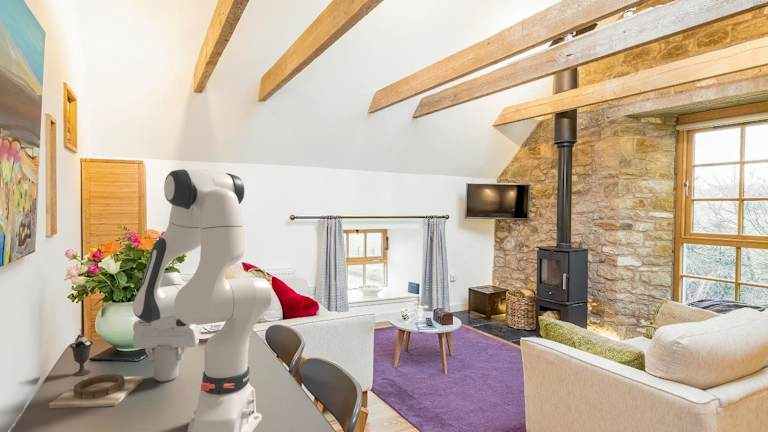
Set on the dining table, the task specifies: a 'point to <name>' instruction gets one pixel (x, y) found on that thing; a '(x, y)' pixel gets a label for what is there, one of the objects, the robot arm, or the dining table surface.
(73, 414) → the dining table surface
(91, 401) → the ring board
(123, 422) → the dining table surface
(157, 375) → the can
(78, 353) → the sundae
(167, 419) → the dining table surface
